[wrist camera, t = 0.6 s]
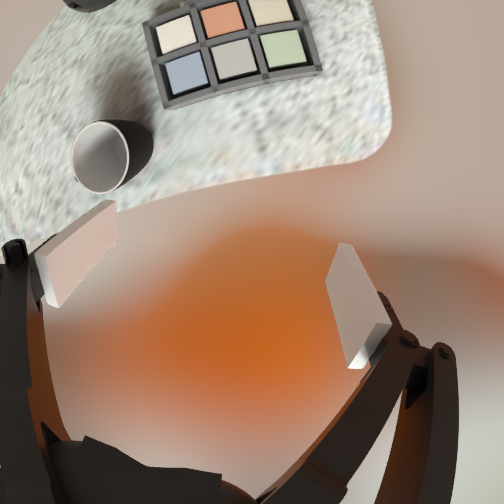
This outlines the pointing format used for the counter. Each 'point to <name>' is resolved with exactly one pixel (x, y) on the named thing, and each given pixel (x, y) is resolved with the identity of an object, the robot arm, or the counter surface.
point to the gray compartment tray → (228, 52)
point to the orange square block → (222, 20)
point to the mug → (109, 154)
